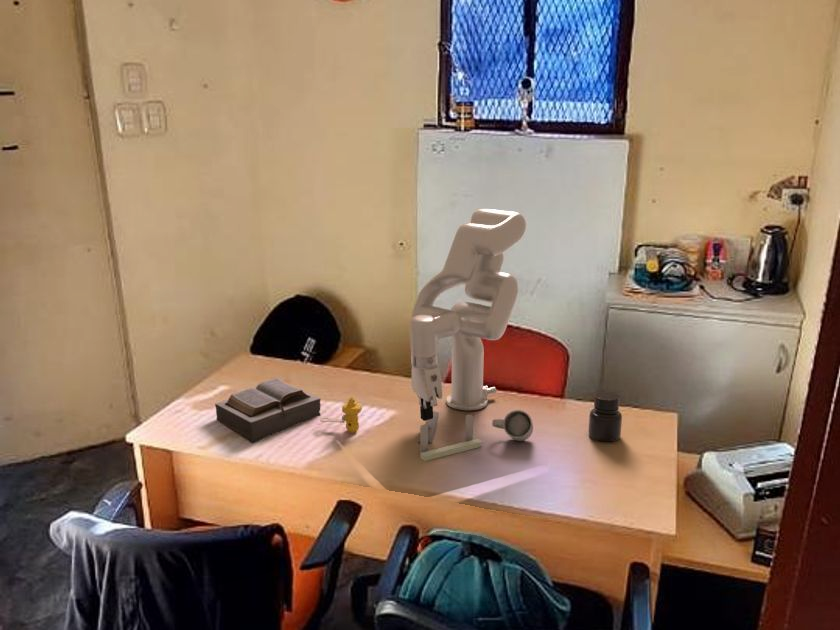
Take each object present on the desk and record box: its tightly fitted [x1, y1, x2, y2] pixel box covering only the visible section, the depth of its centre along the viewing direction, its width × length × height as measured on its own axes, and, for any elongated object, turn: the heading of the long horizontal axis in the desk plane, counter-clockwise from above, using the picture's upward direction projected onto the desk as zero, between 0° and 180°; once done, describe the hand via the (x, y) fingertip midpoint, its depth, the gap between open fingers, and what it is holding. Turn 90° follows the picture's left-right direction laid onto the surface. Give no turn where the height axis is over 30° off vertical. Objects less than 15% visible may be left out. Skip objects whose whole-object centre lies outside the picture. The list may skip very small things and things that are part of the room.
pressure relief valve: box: [319, 397, 363, 434], centre depth 222 cm, size 6×12×10 cm, turn 78°
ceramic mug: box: [491, 409, 534, 442], centre depth 215 cm, size 11×8×8 cm
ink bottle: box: [587, 390, 623, 442], centre depth 219 cm, size 10×9×12 cm
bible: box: [214, 377, 322, 444], centre depth 229 cm, size 23×27×10 cm
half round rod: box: [417, 410, 440, 445], centre depth 224 cm, size 4×20×2 cm, turn 171°
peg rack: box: [419, 414, 483, 462], centre depth 210 cm, size 18×4×8 cm, turn 119°
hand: (426, 418), depth 224 cm, fingers closed
